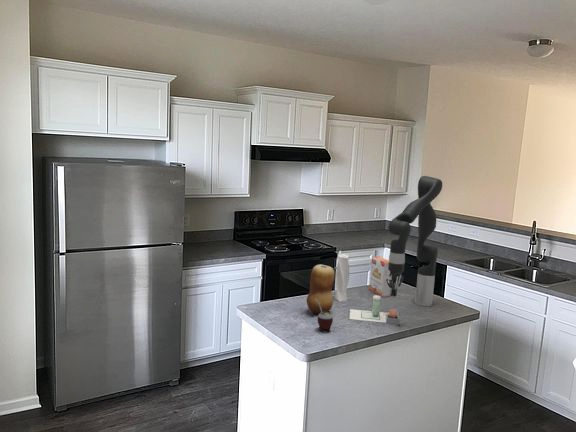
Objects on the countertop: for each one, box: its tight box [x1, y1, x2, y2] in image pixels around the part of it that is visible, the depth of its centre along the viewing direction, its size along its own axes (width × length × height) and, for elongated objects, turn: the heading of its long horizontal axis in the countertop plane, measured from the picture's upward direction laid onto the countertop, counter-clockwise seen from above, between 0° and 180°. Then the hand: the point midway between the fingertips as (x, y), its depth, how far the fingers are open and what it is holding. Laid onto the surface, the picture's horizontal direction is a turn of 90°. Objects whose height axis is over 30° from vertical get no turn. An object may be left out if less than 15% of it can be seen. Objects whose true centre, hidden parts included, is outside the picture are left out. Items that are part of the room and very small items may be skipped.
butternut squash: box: [305, 264, 336, 315], centre depth 241 cm, size 14×13×25 cm
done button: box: [388, 308, 398, 318], centre depth 233 cm, size 4×4×3 cm
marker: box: [371, 294, 382, 317], centre depth 240 cm, size 4×4×10 cm
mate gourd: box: [314, 299, 334, 333], centre depth 220 cm, size 8×8×15 cm
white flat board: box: [348, 308, 401, 327], centre depth 240 cm, size 16×25×3 cm, turn 81°
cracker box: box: [369, 255, 391, 298], centre depth 280 cm, size 14×6×21 cm, turn 21°
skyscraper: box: [334, 250, 351, 302], centre depth 262 cm, size 8×8×28 cm
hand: (393, 295), depth 232 cm, fingers closed
